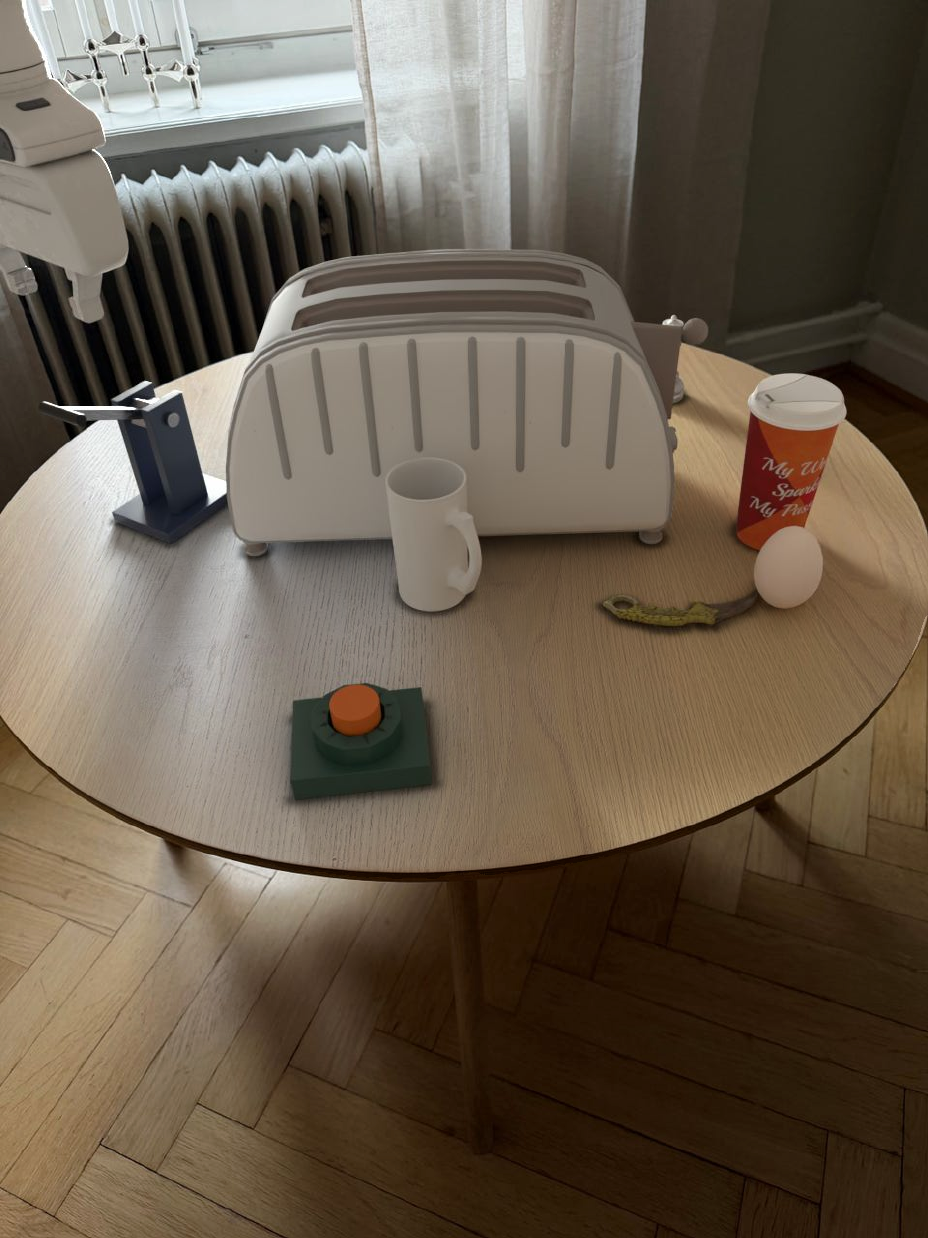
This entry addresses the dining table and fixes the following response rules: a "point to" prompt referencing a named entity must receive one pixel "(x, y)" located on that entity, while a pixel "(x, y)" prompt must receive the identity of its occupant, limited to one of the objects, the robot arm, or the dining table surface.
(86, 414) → the lever
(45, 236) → the robot arm
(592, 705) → the dining table surface
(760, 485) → the coffee cup
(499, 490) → the toaster
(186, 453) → the bracket
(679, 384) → the chess piece
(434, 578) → the mug
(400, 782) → the button box
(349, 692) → the button
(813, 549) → the egg
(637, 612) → the knife
